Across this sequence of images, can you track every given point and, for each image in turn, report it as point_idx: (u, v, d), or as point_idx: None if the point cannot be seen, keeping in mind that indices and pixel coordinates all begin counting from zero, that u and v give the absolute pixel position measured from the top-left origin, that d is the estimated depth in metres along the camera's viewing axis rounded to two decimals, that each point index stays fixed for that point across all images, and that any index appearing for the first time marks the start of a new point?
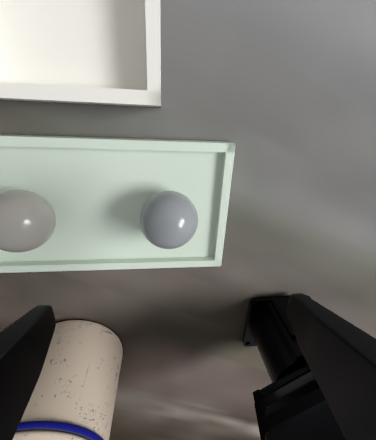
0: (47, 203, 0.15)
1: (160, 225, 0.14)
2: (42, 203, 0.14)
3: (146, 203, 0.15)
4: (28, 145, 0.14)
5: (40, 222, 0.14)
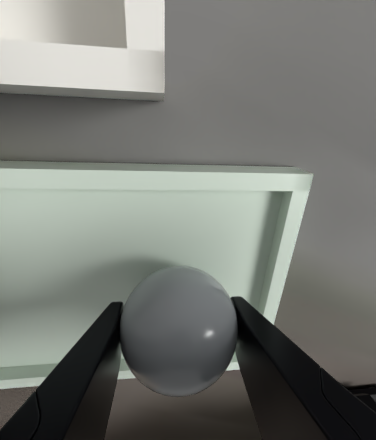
0: None
1: (162, 370, 0.06)
2: None
3: (132, 303, 0.07)
4: None
5: None
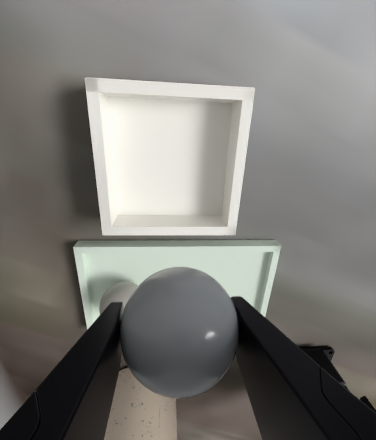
0: None
1: (163, 371, 0.06)
2: None
3: (133, 305, 0.07)
4: (133, 252, 0.20)
5: None
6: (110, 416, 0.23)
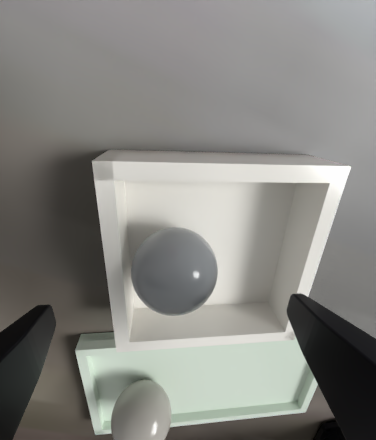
0: (166, 396, 0.16)
1: (162, 289, 0.09)
2: (165, 402, 0.15)
3: (141, 249, 0.10)
4: (153, 350, 0.15)
5: (167, 427, 0.15)
6: None
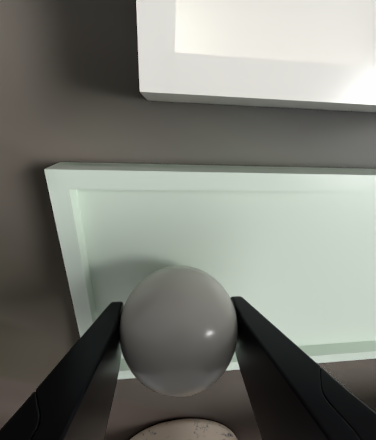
0: (224, 289, 0.08)
1: None
2: (227, 294, 0.08)
3: None
4: (205, 187, 0.07)
5: (236, 338, 0.07)
6: None
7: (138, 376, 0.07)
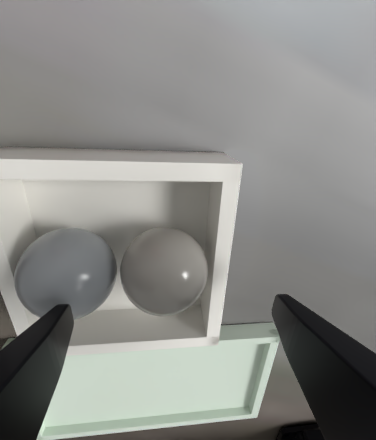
0: (202, 252, 0.10)
1: (29, 292, 0.08)
2: (199, 254, 0.10)
3: (25, 250, 0.09)
4: (82, 355, 0.15)
5: (195, 285, 0.09)
6: None
7: (123, 288, 0.10)
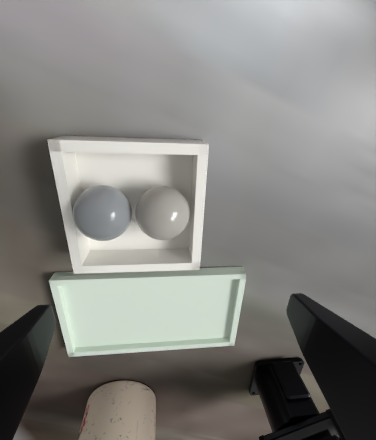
0: (186, 201, 0.17)
1: (83, 216, 0.15)
2: (183, 200, 0.16)
3: (78, 196, 0.16)
4: (106, 283, 0.21)
5: (179, 217, 0.16)
6: (90, 431, 0.24)
7: (137, 220, 0.16)
